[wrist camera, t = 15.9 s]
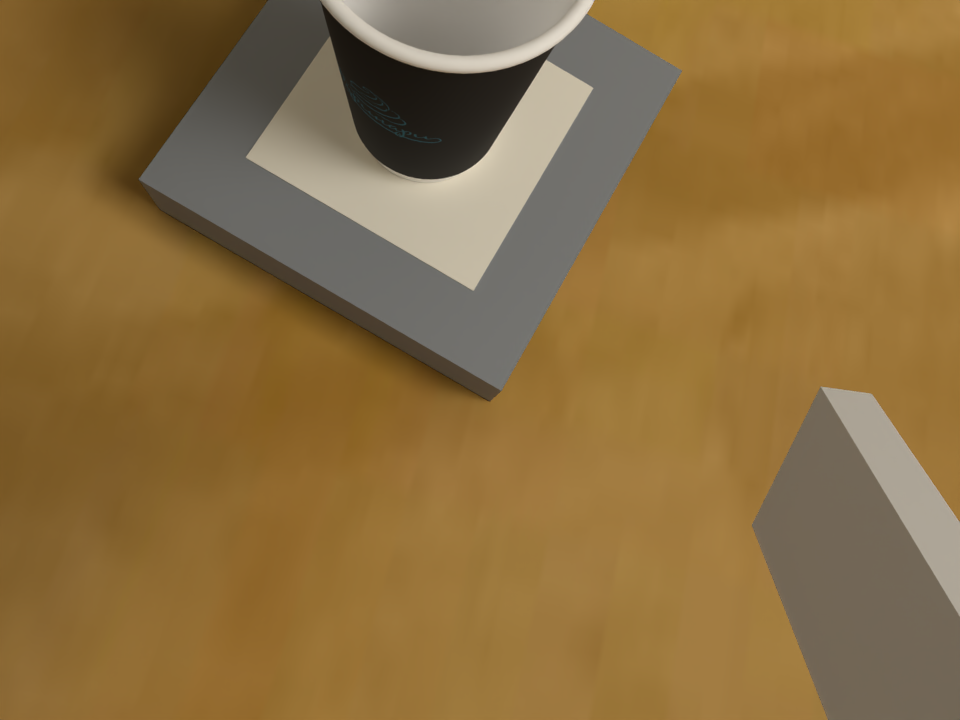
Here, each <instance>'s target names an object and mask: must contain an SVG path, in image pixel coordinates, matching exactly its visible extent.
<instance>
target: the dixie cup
mask: <svg viewBox="0 0 960 720" xmlns="http://www.w3.org/2000/svg"><path fill="white" fill-rule="evenodd" d="M320 2H321V5H322V9H323V13H324V16H325V20H326V23H327V27H328V31H329V34H330V38H331V42H332V45H333V49H334V52H335V56H336V60H337V63H338V67H339V71H340V74H341V78H342V81H343V85H344V89H345V92H346V96H347V99H348V103H349V107H350V110H351V114H352V118H353V121H354V125H355V128H356V131H357V133H358V135H359V137H360V139H361V141H362V142H363V144H364V145H365V147H366V148H367V149H368V151H369V152H370V153H371V154H372V155H373V156H374V157H375V158H376V160H377V161H378V162H379V163H380V164H381V165H382V166H383V167H385V168H386V169H387V170H389V171H390V172H392V173H393V174H395V175H397V176H399V177H401V178H404V179H407V180H410V181H415V182H421V183H434V182H441V181H445V180H448V179H451V178H453V177H455V176H458V175H459V174H461V173H463V172H464V171H466V170H468V169H469V168H471V167H473V166H474V165H475V164H477V163H478V162H479V161H480V160H481V159H482V158H483V157H484V156H485V155H486V154H487V152H488V151H489V149H490V148H491V147H492V145H493V143H494V142H495V140H496V139H497V137H498V135H499V134H500V132H501V131H502V129H503V127H504V126H505V124H506V123H507V121H508V120H509V118H510V116H511V115H512V113H513V112H514V110H515V108H516V107H517V105H518V104H519V102H520V100H521V99H522V97H523V96H524V94H525V93H526V91H527V89H528V88H529V86H530V85H531V83H532V81H533V80H534V78H535V77H536V75H537V74H538V72H539V70H540V69H541V67H542V66H543V64H544V62H545V61H546V59H547V58H548V56H549V54H550V53H551V51H552V50H553V48H554V47H555V45H556V44H558V43H559V42H560V41H562V40H563V39H564V38H565V37H566V36H567V35H568V34H569V33H570V32H571V31H573V30H574V28H575V27H576V26H577V25H578V24H579V23H580V22H581V20H582V19H583V18H584V16H585V15H586V14H587V12H588V11H589V9H590V8H591V6H592V4H593V2H594V0H320Z"/></svg>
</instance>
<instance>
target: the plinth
mask: <svg viewBox="0 0 960 720" xmlns="http://www.w3.org/2000/svg"><path fill="white" fill-rule="evenodd" d="M681 72H682V71H681V70H680V69H678V68H676V67H675V66H673V65H671V64H670V63H668V62H666V61H665V60H663V59H661V58H660V57H658V56H656V55H655V54H653V53H651V52H650V51H648V50H646V49H645V48H643V47H641V46H639V45H638V44H636V43H634V42H633V41H631V40H629V39H628V38H626V37H624V36H623V35H621V34H619V33H618V32H616V31H614V30H613V29H611V28H609V27H608V26H606V25H604V24H603V23H601V22H599V21H597V20H596V19H594V18H592V17H591V16H589V15H587V14H586V15H585V16H584V18H583V19H582V20H581V22H580V23H579V24H578V25H577V26H576V27H575V28H574V30H573V31H571V32H570V33H569V34H568V35H567V36H566V37H565V38H564V39H563V40H562V41H560V42H559V43H558V44H556V45H555V47H554V48H553V50H552V51H551V53H550V54H549V56H548V58H547V59H546V61H545V62H544V64H543V66H542V67H541V69H540V70H539V72H538V74H537V75H536V77H535V78H534V80H533V81H532V83H531V85H530V86H529V88H528V89H527V91H526V93H525V94H524V96H523V97H522V99H521V100H520V102H519V104H518V105H517V107H516V108H515V110H514V112H513V113H512V115H511V116H510V118H509V120H508V121H507V123H506V124H505V126H504V127H503V129H502V131H501V132H500V134H499V135H498V137H497V139H496V140H495V142H494V143H493V145H492V147H491V148H490V149H489V151H488V152H487V154H486V155H485V156H484V157H483V158H482V159H481V160H480V161H479V162H478V163H477V164H475V165H474V166H473V167H471V168H469V169H468V170H466V171H464V172H463V173H461V174H459V175H458V176H455V177H453V178H451V179H448V180H445V181H441V182H434V183H421V182H415V181H410V180H407V179H404V178H401V177H399V176H397V175H395V174H393V173H392V172H390V171H389V170H387V169H386V168H385V167H383V166H382V165H381V164H380V163H379V162H378V161H377V160H376V158H375V157H374V156H373V155H372V154H371V153H370V152H369V151H368V149H367V148H366V147H365V145H364V144H363V142H362V141H361V139H360V137H359V135H358V133H357V131H356V128H355V125H354V121H353V118H352V114H351V110H350V107H349V103H348V99H347V96H346V92H345V89H344V85H343V81H342V78H341V74H340V71H339V67H338V63H337V60H336V56H335V52H334V49H333V45H332V42H331V38H330V34H329V31H328V27H327V23H326V20H325V16H324V13H323V9H322V5H321V2H320V0H268V1H267V3H266V4H265V5H264V7H263V8H262V10H261V11H260V12H259V14H258V15H257V17H256V18H255V19H254V21H253V22H252V23H251V25H250V26H249V28H248V29H247V30H246V32H245V33H244V34H243V36H242V37H241V39H240V40H239V41H238V43H237V44H236V46H235V47H234V48H233V50H232V51H231V52H230V54H229V55H228V57H227V58H226V59H225V61H224V62H223V63H222V65H221V66H220V68H219V69H218V70H217V72H216V73H215V75H214V76H213V77H212V79H211V80H210V81H209V83H208V84H207V86H206V87H205V88H204V90H203V91H202V93H201V94H200V95H199V97H198V98H197V99H196V101H195V102H194V104H193V105H192V106H191V108H190V109H189V110H188V112H187V113H186V115H185V116H184V117H183V119H182V120H181V122H180V123H179V124H178V126H177V127H176V128H175V130H174V131H173V133H172V134H171V135H170V137H169V138H168V140H167V141H166V142H165V144H164V145H163V146H162V148H161V149H160V151H159V152H158V153H157V155H156V156H155V157H154V159H153V160H152V162H151V163H150V164H149V166H148V167H147V169H146V170H145V171H144V173H143V174H142V175H141V177H140V178H139V181H140V182H141V184H142V185H143V187H144V188H145V189H146V191H147V192H148V194H149V195H150V196H151V198H152V199H153V201H154V202H155V203H156V205H157V206H158V208H159V209H160V210H162V211H163V212H165V213H167V214H169V215H170V216H172V217H174V218H175V219H177V220H179V221H181V222H182V223H184V224H186V225H187V226H189V227H191V228H193V229H194V230H196V231H198V232H200V233H201V234H203V235H205V236H206V237H208V238H210V239H212V240H213V241H215V242H217V243H218V244H220V245H222V246H224V247H225V248H227V249H229V250H230V251H232V252H234V253H236V254H237V255H239V256H241V257H242V258H244V259H246V260H248V261H249V262H251V263H253V264H254V265H256V266H258V267H260V268H261V269H263V270H265V271H267V272H268V273H270V274H272V275H273V276H275V277H277V278H279V279H280V280H282V281H284V282H285V283H287V284H289V285H291V286H292V287H294V288H296V289H297V290H299V291H301V292H303V293H304V294H306V295H308V296H309V297H311V298H313V299H315V300H316V301H318V302H320V303H322V304H323V305H325V306H327V307H328V308H330V309H332V310H334V311H335V312H337V313H339V314H340V315H342V316H344V317H346V318H347V319H349V320H351V321H352V322H354V323H356V324H358V325H359V326H361V327H363V328H364V329H366V330H368V331H370V332H371V333H373V334H375V335H376V336H378V337H380V338H382V339H383V340H385V341H387V342H389V343H390V344H392V345H394V346H395V347H397V348H399V349H401V350H402V351H404V352H406V353H407V354H409V355H411V356H413V357H414V358H416V359H418V360H419V361H421V362H423V363H425V364H426V365H428V366H430V367H431V368H433V369H435V370H437V371H438V372H440V373H442V374H444V375H445V376H447V377H449V378H450V379H452V380H454V381H456V382H457V383H459V384H461V385H462V386H464V387H466V388H468V389H469V390H471V391H473V392H474V393H476V394H478V395H480V396H481V397H483V398H485V399H486V400H488V401H491V400H492V399H493V398H494V397H495V396H496V395H497V394H498V393H500V392H501V391H502V389H503V387H504V385H505V383H506V382H507V380H508V378H509V376H510V375H511V373H512V371H513V369H514V368H515V366H516V364H517V362H518V360H519V359H520V357H521V355H522V353H523V352H524V350H525V348H526V346H527V344H528V343H529V341H530V339H531V337H532V336H533V334H534V332H535V330H536V329H537V327H538V325H539V323H540V321H541V320H542V318H543V316H544V314H545V313H546V311H547V309H548V307H549V306H550V304H551V302H552V300H553V298H554V297H555V295H556V293H557V291H558V290H559V288H560V286H561V284H562V283H563V281H564V279H565V277H566V275H567V274H568V272H569V270H570V268H571V267H572V265H573V263H574V261H575V259H576V258H577V256H578V254H579V252H580V251H581V249H582V247H583V245H584V244H585V242H586V240H587V238H588V236H589V235H590V233H591V231H592V229H593V228H594V226H595V224H596V222H597V221H598V219H599V217H600V215H601V213H602V212H603V210H604V208H605V206H606V205H607V203H608V201H609V199H610V198H611V196H612V194H613V192H614V190H615V189H616V187H617V185H618V183H619V182H620V180H621V178H622V176H623V174H624V173H625V171H626V169H627V167H628V166H629V164H630V162H631V160H632V159H633V157H634V155H635V153H636V151H637V150H638V148H639V146H640V144H641V143H642V141H643V139H644V137H645V136H646V134H647V132H648V130H649V128H650V127H651V125H652V123H653V121H654V120H655V118H656V116H657V114H658V113H659V111H660V109H661V107H662V105H663V104H664V102H665V100H666V98H667V97H668V95H669V93H670V91H671V89H672V88H673V86H674V84H675V82H676V81H677V79H678V77H679V75H680V74H681Z"/></svg>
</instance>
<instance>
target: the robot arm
mask: <svg viewBox="0 0 960 720" xmlns="http://www.w3.org/2000/svg"><path fill="white" fill-rule="evenodd" d="M752 527H753V530H754V532H755V535H756V537H757V540H758V542H759V545H760V547H761V550H762V552H763V555H764V558H765V560H766V563H767V565H768V568H769V570H770V573H771V575H772V578H773V580H774V583H775V586H776V588H777V591H778V593H779V596H780V598H781V601H782V603H783V606H784V609H785V611H786V614H787V616H788V619H789V621H790V624H791V626H792V629H793V631H794V634H795V637H796V639H797V642H798V644H799V647H800V649H801V652H802V654H803V657H804V659H805V662H806V665H807V667H808V670H809V672H810V675H811V677H812V680H813V682H814V685H815V687H816V690H817V693H818V695H819V698H820V700H821V703H822V705H823V708H824V710H825V713H826V716H827V718H828V720H960V522H959V521H958V519H957V518H956V516H955V515H954V513H953V512H952V510H951V509H950V507H949V506H948V505H947V503H946V502H945V500H944V499H943V497H942V496H941V494H940V493H939V491H938V490H937V488H936V487H935V486H934V484H933V483H932V481H931V480H930V478H929V477H928V475H927V474H926V472H925V471H924V469H923V468H922V467H921V465H920V464H919V462H918V461H917V459H916V458H915V456H914V455H913V453H912V452H911V450H910V449H909V448H908V446H907V445H906V443H905V442H904V440H903V439H902V437H901V436H900V434H899V433H898V432H897V430H896V429H895V427H894V426H893V424H892V423H891V421H890V420H889V418H888V417H887V415H886V414H885V413H884V411H883V410H882V408H881V407H880V405H879V404H878V402H877V401H876V399H875V398H874V396H873V395H872V394H869V393H862V392H855V391H848V390H841V389H834V388H827V387H820V389H819V391H818V393H817V395H816V397H815V399H814V401H813V403H812V405H811V407H810V409H809V411H808V413H807V415H806V417H805V419H804V421H803V423H802V425H801V427H800V429H799V431H798V433H797V435H796V438H795V440H794V442H793V444H792V446H791V448H790V450H789V452H788V454H787V456H786V458H785V460H784V462H783V464H782V466H781V468H780V470H779V472H778V474H777V476H776V478H775V480H774V482H773V484H772V486H771V488H770V490H769V492H768V494H767V496H766V498H765V500H764V502H763V504H762V506H761V508H760V510H759V512H758V514H757V516H756V518H755V520H754V522H753V524H752Z"/></svg>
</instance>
